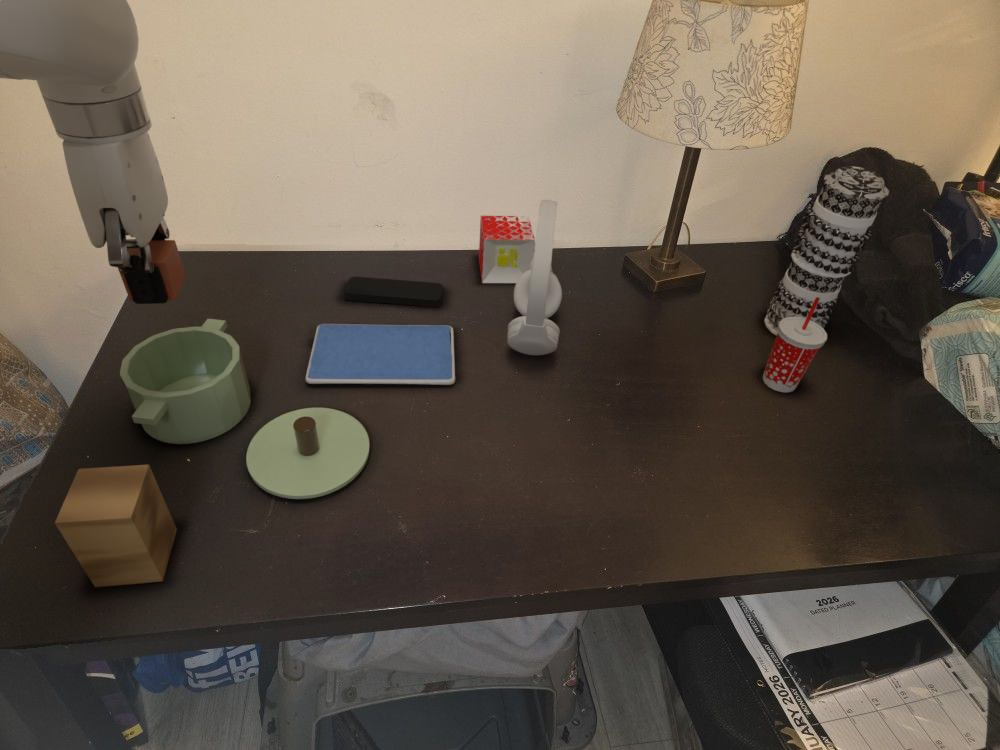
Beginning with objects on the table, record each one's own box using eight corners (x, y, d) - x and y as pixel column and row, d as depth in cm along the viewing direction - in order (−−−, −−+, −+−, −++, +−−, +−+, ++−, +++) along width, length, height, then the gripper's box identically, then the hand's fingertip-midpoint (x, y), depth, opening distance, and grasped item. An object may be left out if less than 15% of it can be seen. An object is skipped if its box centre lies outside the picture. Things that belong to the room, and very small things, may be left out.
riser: (163, 581, 62) (131, 517, 55) (94, 587, 61) (54, 523, 54) (177, 529, 66) (149, 464, 60) (113, 534, 65) (78, 468, 59)
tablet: (453, 330, 95) (453, 323, 94) (455, 388, 85) (455, 380, 84) (318, 329, 93) (317, 322, 92) (304, 388, 83) (303, 380, 82)
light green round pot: (274, 366, 86) (264, 320, 81) (214, 468, 72) (198, 420, 67) (181, 355, 86) (166, 308, 82) (105, 454, 73) (81, 405, 68)
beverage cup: (798, 371, 93) (838, 289, 83) (804, 399, 88) (847, 316, 79) (754, 364, 93) (789, 281, 84) (758, 391, 89) (796, 307, 80)
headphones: (559, 303, 102) (577, 182, 89) (554, 378, 88) (575, 248, 75) (514, 297, 102) (525, 176, 89) (502, 372, 88) (513, 241, 75)
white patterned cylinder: (762, 304, 105) (822, 154, 89) (821, 318, 103) (894, 167, 87) (760, 335, 99) (824, 179, 82) (823, 351, 97) (902, 194, 81)
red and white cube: (481, 283, 105) (484, 239, 100) (478, 257, 111) (480, 215, 105) (530, 283, 106) (535, 240, 100) (524, 258, 112) (529, 216, 106)
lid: (382, 421, 80) (380, 390, 76) (351, 510, 69) (347, 478, 66) (274, 408, 80) (267, 376, 77) (227, 494, 70) (217, 462, 66)
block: (176, 300, 67) (164, 262, 64) (129, 301, 66) (115, 263, 63) (185, 276, 70) (175, 239, 67) (141, 277, 70) (128, 240, 67)
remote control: (444, 292, 103) (349, 282, 102) (444, 283, 102) (348, 272, 101) (441, 310, 99) (342, 299, 98) (441, 301, 98) (342, 290, 97)
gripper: (85, 79, 62) (141, 247, 74) (12, 149, 50) (94, 338, 61) (168, 81, 63) (210, 246, 75) (117, 150, 51) (178, 335, 63)
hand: (157, 286), depth 68 cm, fingers closed on block, 4 cm apart
